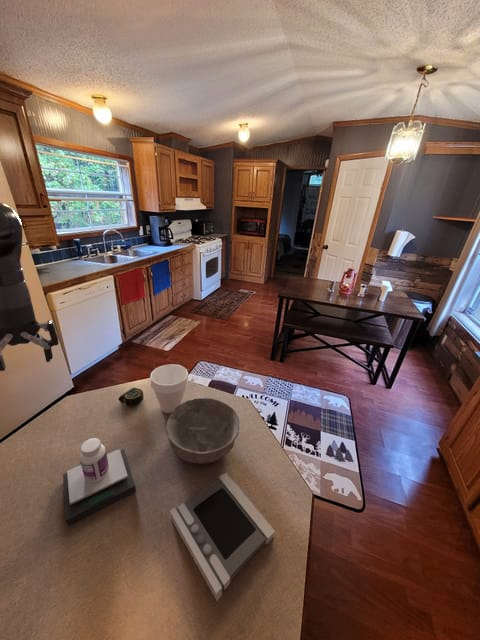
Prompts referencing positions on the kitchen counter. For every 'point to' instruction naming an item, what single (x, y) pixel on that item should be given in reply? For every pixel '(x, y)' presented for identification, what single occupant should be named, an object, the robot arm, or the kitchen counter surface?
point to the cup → (169, 385)
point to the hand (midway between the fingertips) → (26, 364)
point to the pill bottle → (94, 460)
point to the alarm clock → (221, 531)
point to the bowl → (202, 430)
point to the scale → (96, 488)
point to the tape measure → (132, 397)
